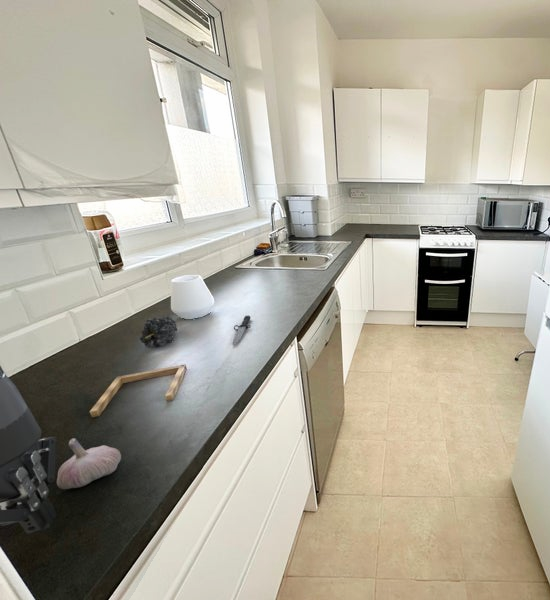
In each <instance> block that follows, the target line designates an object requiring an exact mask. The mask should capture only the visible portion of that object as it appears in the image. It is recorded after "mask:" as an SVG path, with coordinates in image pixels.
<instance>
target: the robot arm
mask: <svg viewBox="0 0 550 600" xmlns="http://www.w3.org/2000/svg"><path fill="white" fill-rule="evenodd" d="M41 436H42V429H41V428H40V426H39V424H38V422H37V421H36V419H35V417H34V415H33V413H32V412H31V410H30V408H29V406H28V404H27V402H26V401H25V400H24V398H23V395H22V394H21V393H20V390H19V389H18V387H17V386H16V385H15V383H14V382H13V381H12V380H11V379H10V378H9V376H8V375H7V374H6V373H5V371H4V370H3V368H2V367H1V365H0V528H3V527H4V526H8V525H11V524H15V523H18V524H19V525H20V526H21V527H22V529H23V530H24V532H25V533H27V534H33V533H38V532H40V531H41V532H42V531H44V530H47V529H49V528H50V527H51V526H52V524H53V522H54V521H55V520H56V518H57V517H58V515H57V512H56V511H55V507H54V505H53V503H52V502H51V500H50V499H49V498H48V496H49V494H50V490H49V488H48V486H49V485H50V484H52V483H54V481H55V479H56V458H57V457H56V455H57V438H56V436H49V437H44V438H41Z"/></svg>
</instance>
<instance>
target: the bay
mask: <svg viewBox="0 0 550 600" xmlns="http://www.w3.org/2000/svg"><path fill="white" fill-rule="evenodd" d="M187 370H188V367H187V364H179V365H174V366H169V367H163V368H157V369H151V370H146V371H142V372H136V373H130V374H125V375H119V376H116V377H115V379H114V380H113V381H112V382H111V384H110V385H109V386H108V387H107V389H106V390H105V391H104V393H103V394H102V395H101V396H100V398H99V399H98V400H97V401H96V403H95V404H94V405H93V406H92V408H91V409H90V410H89V413H90V417H91V418H98V417H100V416H101V415H102V413H103V411H104V410H105V409H106V407H107V406H108V405H109V403H110V402H111V401H112V399H113V398H114V396H115V395H116V394H117V392H118V391H119V390H120V388H121V387H122V385H124V384H126V383H132V382H137V381H143V380H147V379H152V378H158V377H164V376H169V375H174V377H173V379H172V381H171V383H170V385H169V387H168V389H167V391H166V393H165V396H164V397H165V401H166V402H170V401H174V399H175V397H176V394H177V392H178V390H179V388H180V386H181V384H182V381H183V379H184V377H185V375H186V372H187Z"/></svg>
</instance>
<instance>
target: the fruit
mask: <svg viewBox="0 0 550 600" xmlns="http://www.w3.org/2000/svg"><path fill="white" fill-rule="evenodd" d="M177 331H178V328H177V324H176V321H175V320H174V319H173V317H172V316H168V315H167V316H163V317H160V316H159V317H153V319H151V318H148V319H147V320H146V322H145V323H144V325H143V329H142V330H141V335H140V336H139V341H141V343H142V344H144V346H145V347H146V348H151V347H152V346H156V347H163V346H166V344H167V343H173V342H174V340H175V338H174V336H175V334H176V332H177ZM172 341H173V342H172ZM160 345H161V346H160Z"/></svg>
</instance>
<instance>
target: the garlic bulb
mask: <svg viewBox="0 0 550 600" xmlns="http://www.w3.org/2000/svg"><path fill="white" fill-rule="evenodd" d="M68 447H69V448H70V449H71V451H72V452H73V453H74V454H73V455H72V456H71V457H70V458H69V459H68V460H66V461H65V462H64V463H62V464H61V466H60V467H59V468H58V471H57V479H56V486H57V487H58V488H59V489H62V490H70V489H77V488H82V487H84V486H87V485H88V484H90V483H92V482H93V481H95V480H98V479H100V478H102V477H106V476H109V475H111V474H112V473H113V472H115V471H116V470H117V468H118V466H119V463H120V462H121V460H122V454H121V452H120V450H119V449H117V448H115V447H110V446H108V445H100V446H96V447H90V448H89V449H85V448H84V447H83V446H82V445H81V443H79V441H78V440H77V438H71V439H70V440H69V442H68Z"/></svg>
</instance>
